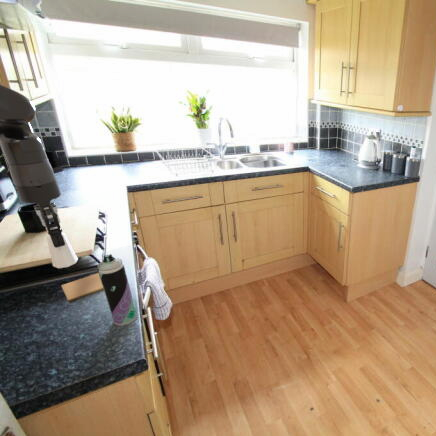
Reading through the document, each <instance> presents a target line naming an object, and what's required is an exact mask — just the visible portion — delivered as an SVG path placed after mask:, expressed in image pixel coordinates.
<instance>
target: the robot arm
mask: <svg viewBox="0 0 436 436" xmlns="http://www.w3.org/2000/svg"><path fill="white" fill-rule="evenodd" d="M36 111H37V110H36V107H35V105H34V104H33V102H32V100H30V98H28V97H27V96H26V95H24V94H22V93H20V92H19V91H16V90H14V89H12V88H10V87H7V86H5V85H3V84H0V146H1V149H2V152H3V155H4V158H5V160H6V163H7V165H8V169H9V173H10V176H11V179H12V181H13V184H14V187H15V189H16V191H17V194H18V197H19V199H20V201H21V202H23V203H25V204H35V205H33V208H34V211H35V213H36V216H38V218H39V220H40V222H41V224H42V226H43V227H45V229H46V228H47V230H48V232H47V234H48V235H50V237H51V239H52V242H53V245H54V247H56V248H57V247H61V246H64V245H65V242H64V239H63V236H62V234H61V233H62V232H63V229H62V228H61V225H60V224H61V219H60V216H59V214H58V212H59V211H58V207H57V205H56V204H55V201H53V200H56V199H58V198H60V196H61V195H62V192H61V190H60V187H59V184H58V181H57V177H56V175H55V173H54V172H55V171H54V169H53V167H52V165H51V163H50V161H49V158H48V156H47V153H46V150H45V147H44V145H43V142H42V140H41V138H39V136H38V135H37V134H35V132H34V130H33V128H32V126H31V124H30V123H31V122H32V121H33V120H34V119H35V117H36V113H37V112H36ZM51 201H53V202H51ZM53 227H57V229H52V230H50V228H53ZM47 230H46V231H47Z"/></svg>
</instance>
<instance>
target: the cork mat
mask: <svg viewBox="0 0 436 436" xmlns="http://www.w3.org/2000/svg"><path fill="white" fill-rule="evenodd" d="M60 286H61V288H62V290H63V293H64V295H65V297H66V299H67V301H68V302H72V301H74V300H78V299H81V298H83V297H86V296H88V295H91V294H93V293H96V292H99V291H102V290H104V289H103V286H102V282H101V279H100V276H99V273H98V272H97V273H93V274H91V275H88V276H84V277H81V278H79V279H76V280H73V281H70V282H67V283H64V284H61V285H60Z"/></svg>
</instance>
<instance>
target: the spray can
mask: <svg viewBox="0 0 436 436" xmlns="http://www.w3.org/2000/svg"><path fill="white" fill-rule="evenodd" d="M97 273H99V276H100V279H101V282H102V286H103V289H102V290H103V293H104V295H105V298H106V302H107V305H108V308H109V311H110V314H111V317H112V321H113V323H114V325H115V326H120V327H123V326H127V325H130V324H131V323H133V322H135V320H136V319H137V318H138V312H137V309H136V305H135V302H134V297H133V294H132V290H131V287H130V283H129V279H128V276H127V271H126V269H125V265H124V262H123V260H122V259H121V258H116V257H114V256H113V255H112V254H111V253H109V254H106V255H103V259H102V261H101V262H99V263H98V264H97Z"/></svg>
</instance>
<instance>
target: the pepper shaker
mask: <svg viewBox="0 0 436 436" xmlns="http://www.w3.org/2000/svg"><path fill="white" fill-rule="evenodd" d="M52 229H57V227H53V228H50V230H52ZM45 230H46V232H47V233H48V230H47V228H46V227H45ZM61 234H62V236H63V239H64V242H65V245H64V246H61V247H57V248H56V247H54V245H53V242H52V239H51V237H50V235H49V234H48V235H47V236H46V241H47V246H48V249H49V250H48V251H49V254H50V259H51V264H52V267H54V268H56V269H63V268H68V267H71V266H74V265H75V264H77V262H78V260H79V258H78V255H77V254H76V252H75V250H74V247H73V246H72V244H71V242H70V240H69V238H68V236H67V234H66V233H65V232H63V231H62V233H61Z"/></svg>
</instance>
